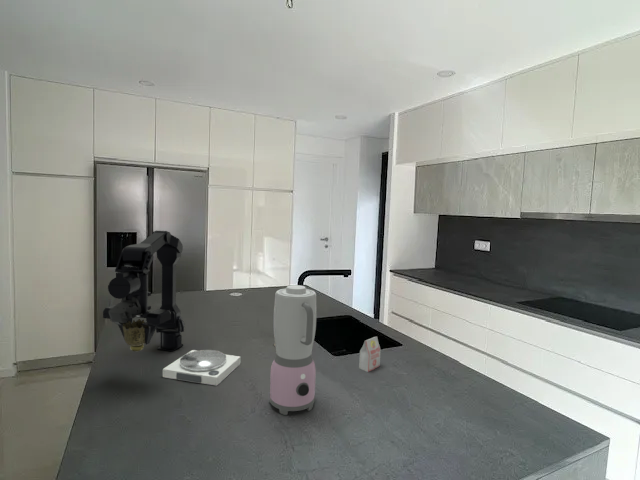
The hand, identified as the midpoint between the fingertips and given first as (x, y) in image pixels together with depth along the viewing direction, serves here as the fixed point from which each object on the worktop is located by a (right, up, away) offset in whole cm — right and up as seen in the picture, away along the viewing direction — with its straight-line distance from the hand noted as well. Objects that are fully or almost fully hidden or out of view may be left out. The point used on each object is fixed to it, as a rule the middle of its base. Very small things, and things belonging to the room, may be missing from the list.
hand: (137, 342), depth 108 cm
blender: (+46, -15, -9) cm, 49 cm away
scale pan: (+16, -9, +10) cm, 21 cm away
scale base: (+16, -12, +10) cm, 22 cm away
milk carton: (+70, -13, +18) cm, 73 cm away
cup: (0, -2, 0) cm, 2 cm away
